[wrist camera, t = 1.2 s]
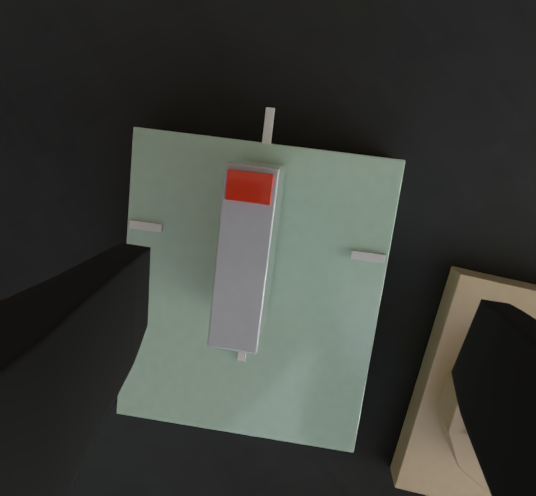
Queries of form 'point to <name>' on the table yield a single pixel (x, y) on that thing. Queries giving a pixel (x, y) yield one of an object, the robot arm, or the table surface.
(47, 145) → the table surface
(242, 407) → the block
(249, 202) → the tap handle
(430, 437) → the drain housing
